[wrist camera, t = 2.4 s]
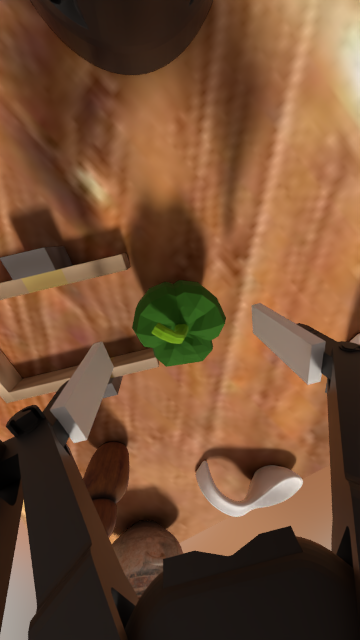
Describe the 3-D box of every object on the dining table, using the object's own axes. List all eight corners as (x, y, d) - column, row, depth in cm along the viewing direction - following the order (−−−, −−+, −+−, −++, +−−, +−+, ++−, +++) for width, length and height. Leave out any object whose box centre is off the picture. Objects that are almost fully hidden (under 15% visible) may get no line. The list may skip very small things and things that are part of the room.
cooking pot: (164, 547, 53) (164, 629, 42) (97, 547, 48) (78, 639, 37) (197, 503, 44) (209, 592, 33) (119, 499, 40) (104, 599, 29)
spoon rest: (302, 459, 41) (329, 500, 34) (275, 487, 45) (295, 529, 39) (208, 447, 36) (219, 493, 29) (188, 480, 40) (193, 527, 33)
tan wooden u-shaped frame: (-69, 277, 19) (-115, 285, 16) (119, 232, 19) (111, 231, 16) (28, 398, 26) (9, 420, 23) (162, 366, 26) (162, 383, 23)
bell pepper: (219, 308, 23) (257, 352, 14) (170, 343, 25) (175, 402, 16) (182, 254, 20) (199, 265, 11) (127, 297, 22) (103, 338, 13)
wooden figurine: (132, 436, 32) (111, 583, 18) (133, 456, 34) (114, 600, 20) (92, 437, 31) (38, 593, 17) (95, 458, 33) (50, 610, 20)
